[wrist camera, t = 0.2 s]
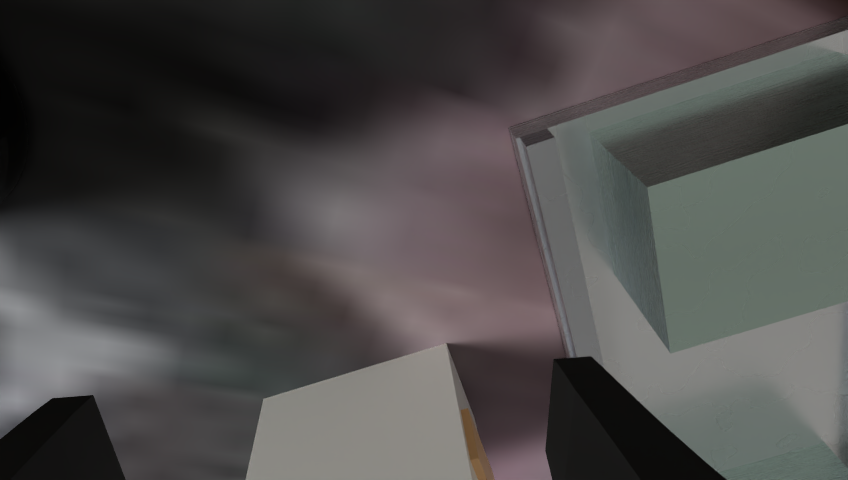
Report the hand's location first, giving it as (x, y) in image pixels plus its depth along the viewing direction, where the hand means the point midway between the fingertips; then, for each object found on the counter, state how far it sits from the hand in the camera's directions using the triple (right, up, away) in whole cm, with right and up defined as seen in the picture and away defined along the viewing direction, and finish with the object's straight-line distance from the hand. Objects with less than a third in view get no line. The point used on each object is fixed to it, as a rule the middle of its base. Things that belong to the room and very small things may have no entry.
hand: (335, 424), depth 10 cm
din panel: (+12, -1, +13) cm, 18 cm away
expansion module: (0, -3, +13) cm, 13 cm away
